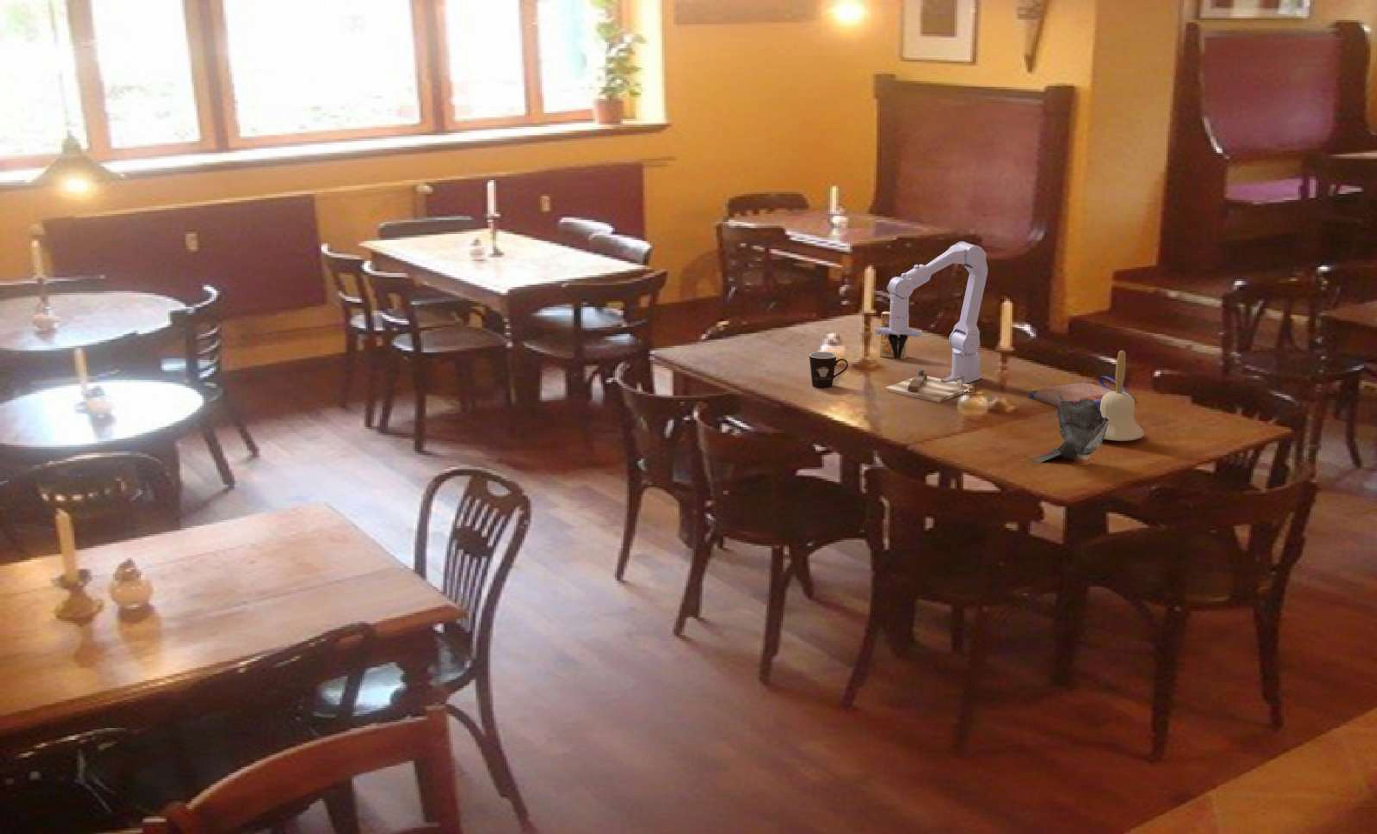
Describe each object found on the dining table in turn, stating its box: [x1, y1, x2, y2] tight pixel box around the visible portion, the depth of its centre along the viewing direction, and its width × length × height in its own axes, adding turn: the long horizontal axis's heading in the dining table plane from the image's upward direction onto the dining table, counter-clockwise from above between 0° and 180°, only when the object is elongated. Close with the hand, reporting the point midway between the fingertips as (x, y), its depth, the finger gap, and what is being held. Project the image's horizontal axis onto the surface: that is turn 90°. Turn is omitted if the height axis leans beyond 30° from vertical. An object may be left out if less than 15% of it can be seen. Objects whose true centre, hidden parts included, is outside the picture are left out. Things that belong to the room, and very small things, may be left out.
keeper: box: [940, 375, 965, 387], centre depth 435 cm, size 8×2×3 cm, turn 128°
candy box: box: [879, 310, 910, 360], centre depth 476 cm, size 9×4×15 cm, turn 70°
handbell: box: [1099, 350, 1145, 442], centre depth 386 cm, size 15×15×25 cm
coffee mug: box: [808, 351, 849, 389], centre depth 442 cm, size 12×9×10 cm
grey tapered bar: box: [908, 369, 928, 391], centre depth 439 cm, size 17×4×3 cm, turn 162°
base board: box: [884, 375, 970, 403], centre depth 438 cm, size 20×20×1 cm
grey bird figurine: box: [1032, 390, 1109, 466], centre depth 367 cm, size 14×15×18 cm
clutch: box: [1028, 375, 1136, 409], centre depth 426 cm, size 28×5×20 cm
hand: (897, 358), depth 439 cm, fingers closed
